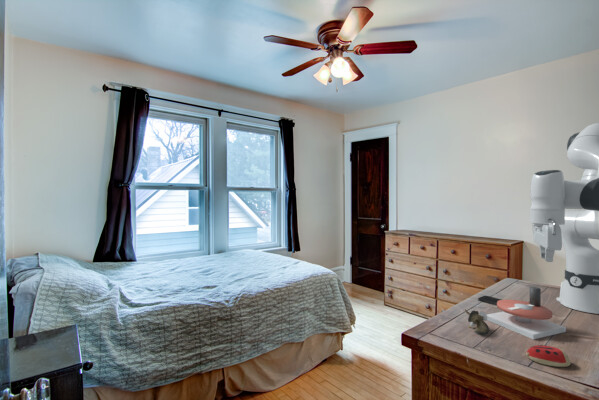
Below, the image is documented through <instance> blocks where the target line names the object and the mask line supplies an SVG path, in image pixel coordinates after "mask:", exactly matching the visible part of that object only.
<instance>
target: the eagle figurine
mask: <svg viewBox="0 0 599 400" xmlns="http://www.w3.org/2000/svg"><path fill="white" fill-rule="evenodd" d="M464 311H465V313H466V314H467V315H468V318H467V320H468V323H469V328H472V327H474V326H475V325H476V327H475V330H474V333H475V334H476V335H478V336H487V335H489V333H490V328H489V325H488V324H487V323H486V322H487V321H488V320H487V313H486V312H484V311H482V310H480V311H478V310H475V309H474V310H471V311H470V312H469V311H468V310H467V309H466V308H465V309H464Z"/></svg>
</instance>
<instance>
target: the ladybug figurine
mask: <svg viewBox="0 0 599 400" xmlns="http://www.w3.org/2000/svg"><path fill="white" fill-rule="evenodd" d="M525 355H526V357H527V358H528V359H530V360H531V361H533V362H535V363H537V364H540V365H543V366H544V365H545V366H549V367H553V368H555V367H556V368H566V367H570V365H571V363H572V362H571V360H570V357H569V356H568V354H567V353H566V352H565V351H564V350H563V349H561V348H557V347H555V346H550V345H543V344H537V345H536V344H535V345H533V346H530V347H529V348H528V349H527V351H526V353H525Z"/></svg>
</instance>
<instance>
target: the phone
mask: <svg viewBox="0 0 599 400" xmlns="http://www.w3.org/2000/svg"><path fill="white" fill-rule="evenodd" d="M499 300H503V299H502V298H497V297H493V296H489V295H482V296H480V297H478V298H477V301H478V302H482V303H485V304H489V305H493V306H496V307H497V302H498V301H499Z"/></svg>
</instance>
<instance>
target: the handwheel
mask: <svg viewBox="0 0 599 400" xmlns="http://www.w3.org/2000/svg"><path fill="white" fill-rule="evenodd" d="M541 295H542V291H541V287H536V286H530V287H529V301H523V300H520V299H502V300H499V301H498V302H497V306H496V307H497V308H498V309H499V310H500V311H501V312H506V313H509V314H511V315H515V316H519V317H523V318H528V319H537V320H547V321H548V320H551V319H552V318H553V311H552V310H551V309H549V308H548V307H545V306H544V305H543V306H542V305H541V300H542V299H541V298H542V296H541Z"/></svg>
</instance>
